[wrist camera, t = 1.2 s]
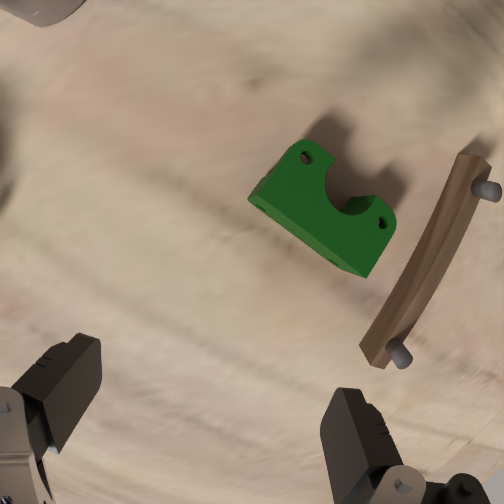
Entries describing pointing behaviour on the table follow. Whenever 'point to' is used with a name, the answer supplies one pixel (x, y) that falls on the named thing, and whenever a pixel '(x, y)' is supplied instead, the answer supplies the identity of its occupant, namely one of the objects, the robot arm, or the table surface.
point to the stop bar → (429, 261)
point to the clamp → (324, 211)
